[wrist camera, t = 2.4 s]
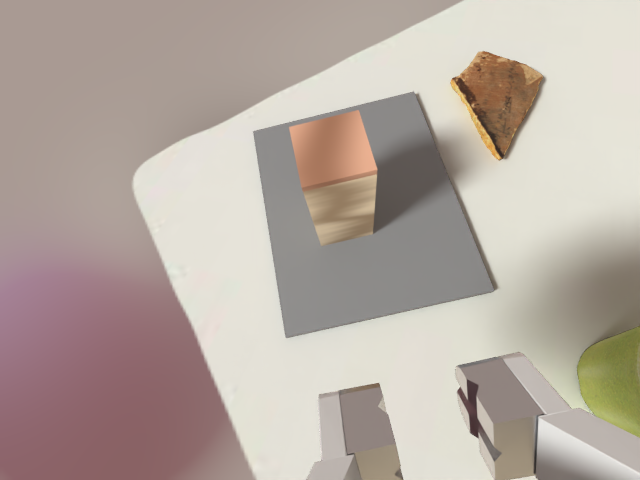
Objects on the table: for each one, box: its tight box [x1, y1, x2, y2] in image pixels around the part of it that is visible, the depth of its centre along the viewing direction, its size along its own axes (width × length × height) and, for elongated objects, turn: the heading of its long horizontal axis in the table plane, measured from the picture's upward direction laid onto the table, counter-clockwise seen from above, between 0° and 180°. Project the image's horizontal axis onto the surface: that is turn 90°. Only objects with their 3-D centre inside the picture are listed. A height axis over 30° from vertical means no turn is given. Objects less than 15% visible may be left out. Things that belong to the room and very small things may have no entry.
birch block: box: [289, 110, 377, 246], centre depth 25 cm, size 4×4×10 cm
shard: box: [450, 51, 543, 160], centre depth 33 cm, size 11×8×2 cm
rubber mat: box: [253, 92, 494, 338], centre depth 30 cm, size 16×20×1 cm
